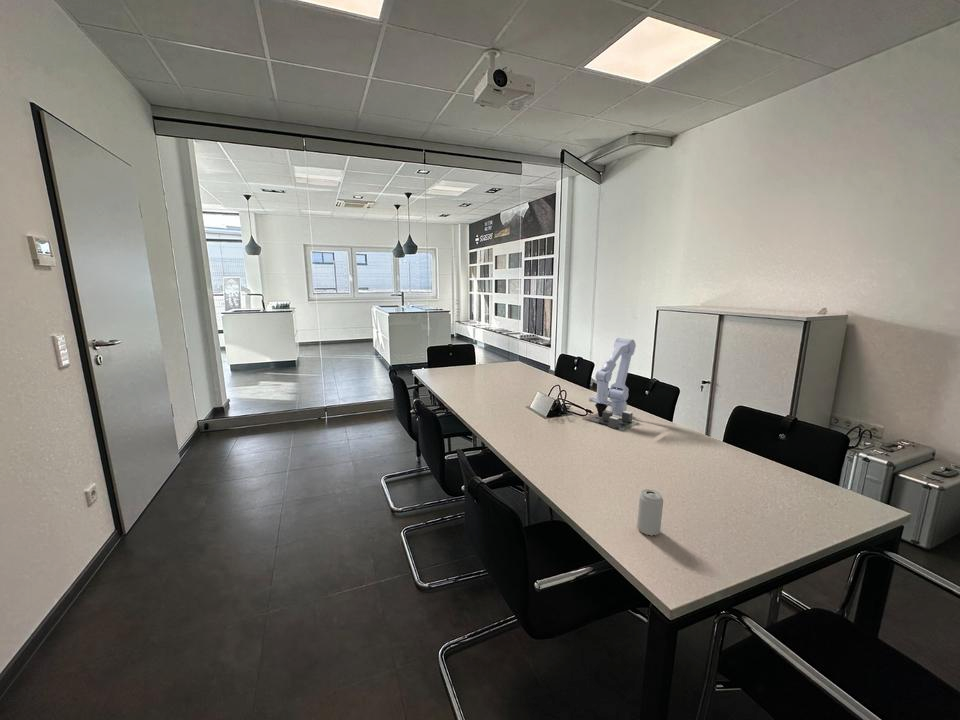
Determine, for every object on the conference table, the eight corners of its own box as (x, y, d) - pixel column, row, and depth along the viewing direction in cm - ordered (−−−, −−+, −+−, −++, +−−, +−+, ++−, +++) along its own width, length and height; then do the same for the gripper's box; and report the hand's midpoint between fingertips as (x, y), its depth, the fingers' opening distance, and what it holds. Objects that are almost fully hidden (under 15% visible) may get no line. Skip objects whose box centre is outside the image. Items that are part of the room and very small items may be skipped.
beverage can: (653, 524, 121) (657, 488, 119) (664, 537, 115) (667, 499, 113) (633, 524, 121) (636, 488, 119) (642, 537, 115) (645, 499, 112)
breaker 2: (624, 418, 214) (625, 410, 213) (632, 420, 211) (632, 412, 210) (621, 420, 212) (622, 411, 211) (628, 422, 209) (629, 413, 208)
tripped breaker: (605, 418, 215) (605, 409, 214) (612, 420, 212) (612, 411, 211) (601, 419, 213) (602, 411, 212) (608, 421, 210) (609, 413, 209)
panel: (599, 415, 226) (599, 412, 226) (639, 425, 209) (639, 422, 209) (581, 421, 214) (581, 419, 214) (622, 433, 197) (623, 430, 197)
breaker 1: (611, 424, 205) (612, 415, 204) (619, 426, 202) (619, 417, 201) (608, 426, 202) (608, 417, 202) (615, 428, 199) (616, 419, 199)
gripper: (586, 391, 215) (585, 415, 218) (610, 396, 205) (609, 421, 207) (593, 389, 220) (592, 412, 222) (617, 394, 209) (615, 418, 212)
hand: (600, 416), depth 215 cm, fingers closed
